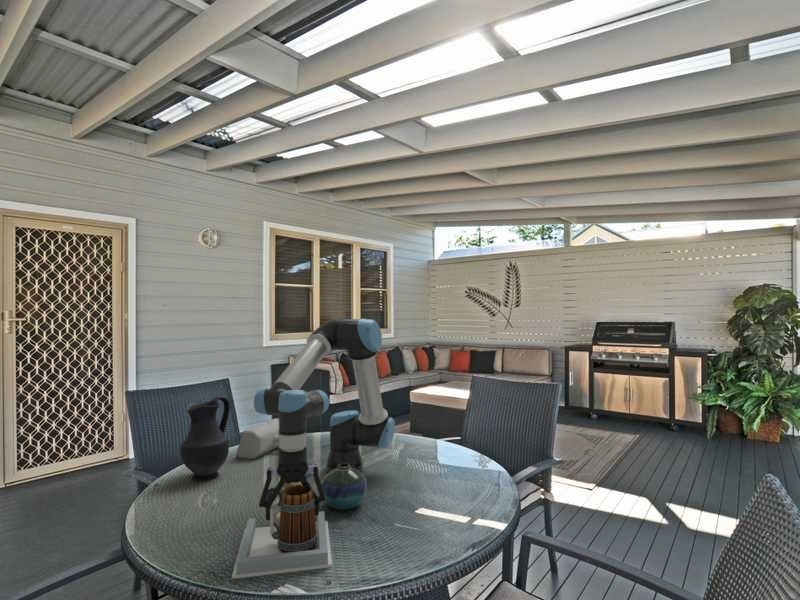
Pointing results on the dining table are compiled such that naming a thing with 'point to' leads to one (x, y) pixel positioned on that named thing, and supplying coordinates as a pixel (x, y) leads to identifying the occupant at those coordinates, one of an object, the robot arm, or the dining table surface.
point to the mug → (295, 519)
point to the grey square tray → (279, 552)
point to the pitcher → (206, 440)
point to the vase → (344, 487)
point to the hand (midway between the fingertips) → (292, 529)
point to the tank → (259, 440)
